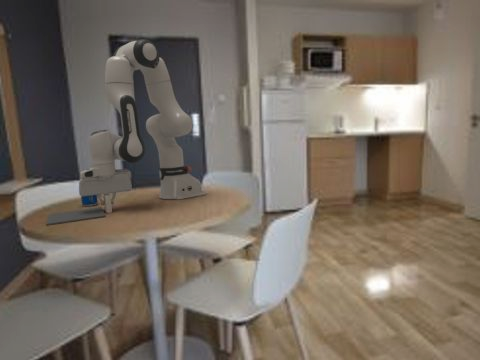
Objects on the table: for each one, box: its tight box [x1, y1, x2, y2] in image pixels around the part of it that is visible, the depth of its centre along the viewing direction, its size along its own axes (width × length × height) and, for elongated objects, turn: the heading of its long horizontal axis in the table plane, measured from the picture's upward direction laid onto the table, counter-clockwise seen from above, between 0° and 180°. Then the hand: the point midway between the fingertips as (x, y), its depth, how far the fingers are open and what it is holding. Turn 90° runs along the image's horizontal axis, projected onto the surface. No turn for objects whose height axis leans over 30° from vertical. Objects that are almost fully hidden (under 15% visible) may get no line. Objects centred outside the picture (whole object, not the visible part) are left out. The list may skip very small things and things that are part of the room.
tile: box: [102, 193, 113, 214], centre depth 148 cm, size 2×8×7 cm, turn 26°
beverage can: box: [80, 195, 98, 207], centre depth 161 cm, size 6×6×12 cm
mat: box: [46, 206, 107, 226], centre depth 141 cm, size 20×18×1 cm
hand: (107, 204), depth 148 cm, fingers closed on tile, 2 cm apart
